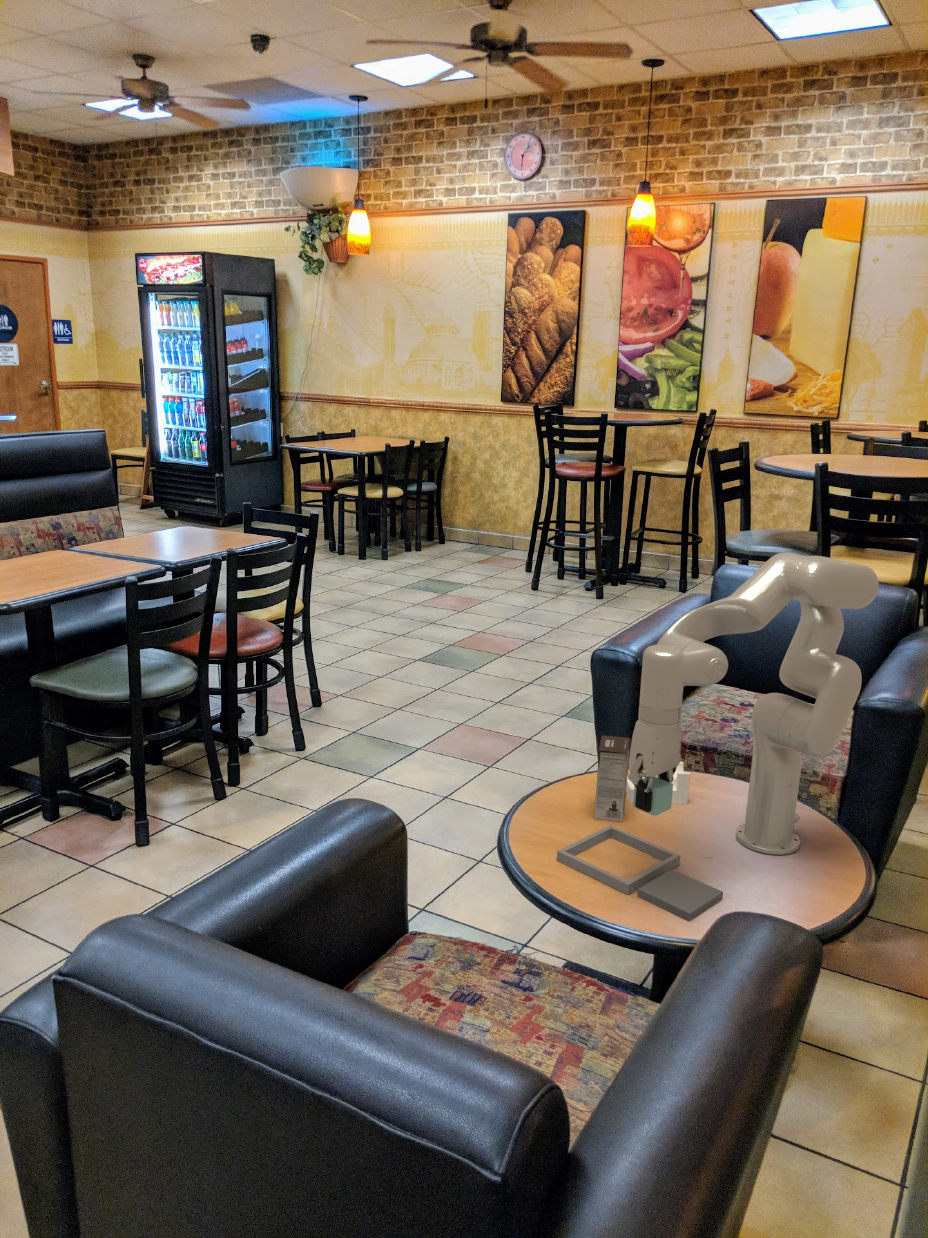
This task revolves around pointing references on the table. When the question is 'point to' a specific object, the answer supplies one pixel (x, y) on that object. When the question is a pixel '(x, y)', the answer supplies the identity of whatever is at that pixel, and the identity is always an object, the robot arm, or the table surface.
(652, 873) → the low bin
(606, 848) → the table surface
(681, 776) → the bracket
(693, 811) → the table surface
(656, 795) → the teal cube
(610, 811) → the coffee box
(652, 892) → the slate board
